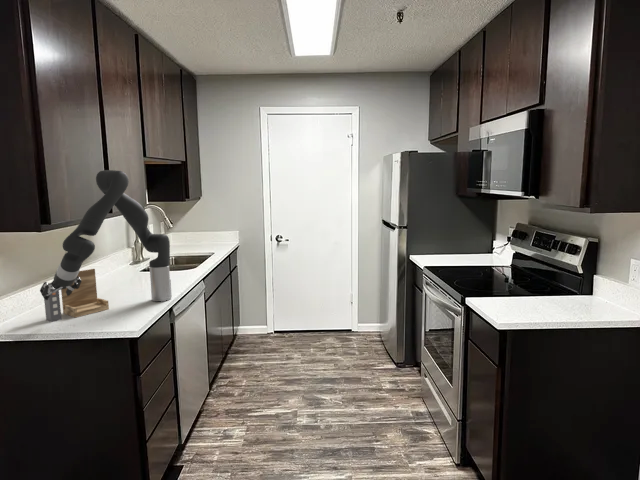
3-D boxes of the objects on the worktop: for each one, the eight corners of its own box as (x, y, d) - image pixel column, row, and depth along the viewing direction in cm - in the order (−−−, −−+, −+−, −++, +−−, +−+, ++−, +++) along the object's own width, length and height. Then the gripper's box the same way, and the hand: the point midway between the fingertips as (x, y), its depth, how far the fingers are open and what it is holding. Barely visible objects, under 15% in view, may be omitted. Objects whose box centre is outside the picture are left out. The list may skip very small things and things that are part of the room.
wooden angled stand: (108, 309, 195) (105, 271, 193) (75, 317, 183) (71, 277, 181) (96, 305, 202) (93, 268, 199) (63, 313, 190) (59, 274, 187)
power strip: (61, 319, 181) (58, 290, 179) (51, 321, 178) (48, 292, 176) (56, 317, 184) (53, 288, 182) (46, 319, 181) (43, 290, 179)
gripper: (81, 262, 175) (71, 285, 183) (44, 268, 164) (34, 292, 172) (89, 276, 173) (78, 299, 181) (51, 283, 161) (41, 307, 169)
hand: (56, 296), depth 176 cm, fingers open, 8 cm apart
